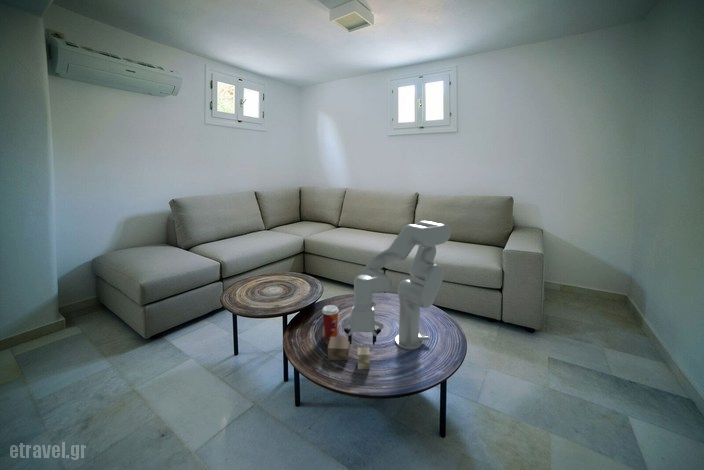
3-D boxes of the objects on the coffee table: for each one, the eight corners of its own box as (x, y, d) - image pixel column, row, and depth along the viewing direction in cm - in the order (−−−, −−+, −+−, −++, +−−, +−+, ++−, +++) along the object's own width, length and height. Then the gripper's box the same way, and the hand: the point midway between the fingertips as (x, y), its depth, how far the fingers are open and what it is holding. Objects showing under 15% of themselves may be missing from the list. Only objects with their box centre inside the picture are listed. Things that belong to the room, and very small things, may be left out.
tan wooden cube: (349, 348, 142) (349, 337, 140) (348, 360, 133) (348, 348, 132) (330, 347, 142) (330, 336, 141) (328, 360, 134) (327, 348, 132)
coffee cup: (337, 340, 148) (336, 312, 144) (320, 339, 149) (319, 311, 146) (341, 331, 156) (340, 305, 152) (325, 330, 157) (324, 303, 154)
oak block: (369, 361, 132) (369, 347, 130) (369, 369, 127) (369, 354, 126) (357, 361, 132) (357, 347, 130) (357, 369, 127) (357, 354, 126)
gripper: (383, 301, 126) (382, 338, 130) (342, 300, 127) (342, 337, 130) (385, 309, 119) (383, 348, 123) (341, 309, 119) (341, 347, 123)
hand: (362, 342), depth 127 cm, fingers open, 9 cm apart
